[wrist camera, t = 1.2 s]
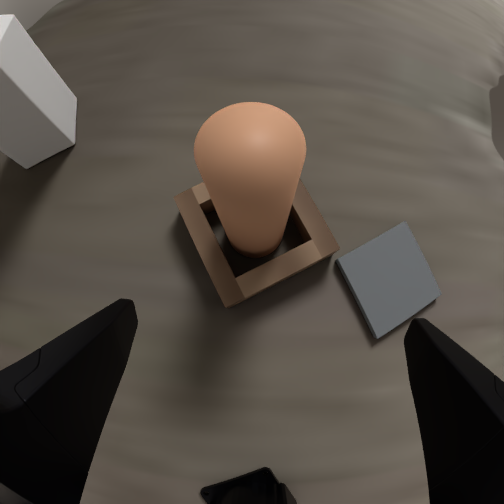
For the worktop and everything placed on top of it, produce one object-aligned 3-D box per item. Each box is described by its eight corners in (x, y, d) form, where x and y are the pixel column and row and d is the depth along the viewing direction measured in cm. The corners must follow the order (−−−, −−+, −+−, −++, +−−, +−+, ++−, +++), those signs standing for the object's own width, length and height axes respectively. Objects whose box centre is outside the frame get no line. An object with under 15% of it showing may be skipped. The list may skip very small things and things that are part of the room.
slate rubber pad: (374, 338, 22) (377, 338, 22) (335, 260, 24) (337, 258, 23) (436, 294, 23) (441, 294, 22) (401, 223, 24) (405, 220, 23)
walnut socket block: (228, 308, 23) (225, 307, 21) (181, 207, 25) (173, 197, 22) (332, 254, 24) (340, 248, 21) (278, 161, 25) (280, 147, 23)
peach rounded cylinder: (242, 267, 24) (222, 216, 11) (217, 218, 25) (178, 128, 12) (293, 242, 24) (327, 167, 11) (267, 195, 25) (272, 89, 12)
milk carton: (77, 98, 28) (-4, -13, 9) (76, 145, 27) (-34, 28, 8) (32, 123, 28) (-57, 34, 9) (27, 170, 26) (-86, 84, 8)
